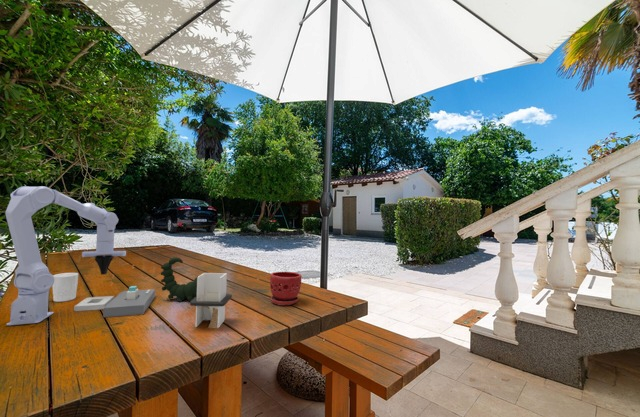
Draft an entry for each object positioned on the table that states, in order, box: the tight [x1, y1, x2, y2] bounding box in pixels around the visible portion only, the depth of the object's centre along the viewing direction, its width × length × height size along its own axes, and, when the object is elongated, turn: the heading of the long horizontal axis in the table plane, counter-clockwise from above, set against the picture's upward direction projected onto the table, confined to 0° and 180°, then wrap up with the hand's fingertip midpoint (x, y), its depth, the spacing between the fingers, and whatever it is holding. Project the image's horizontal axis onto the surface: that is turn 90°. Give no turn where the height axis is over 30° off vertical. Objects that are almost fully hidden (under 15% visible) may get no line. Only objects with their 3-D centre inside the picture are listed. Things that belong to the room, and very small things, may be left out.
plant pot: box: [269, 271, 302, 306], centre depth 120 cm, size 13×13×12 cm
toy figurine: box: [160, 256, 203, 302], centre depth 119 cm, size 9×19×25 cm
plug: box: [127, 285, 139, 300], centre depth 110 cm, size 4×3×7 cm, turn 21°
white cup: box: [52, 272, 79, 303], centre depth 115 cm, size 8×8×10 cm
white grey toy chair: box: [189, 272, 233, 329], centre depth 95 cm, size 25×24×16 cm
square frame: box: [73, 295, 115, 312], centre depth 109 cm, size 11×9×2 cm
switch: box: [102, 288, 156, 318], centre depth 110 cm, size 22×12×4 cm, turn 21°
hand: (103, 274), depth 116 cm, fingers closed
